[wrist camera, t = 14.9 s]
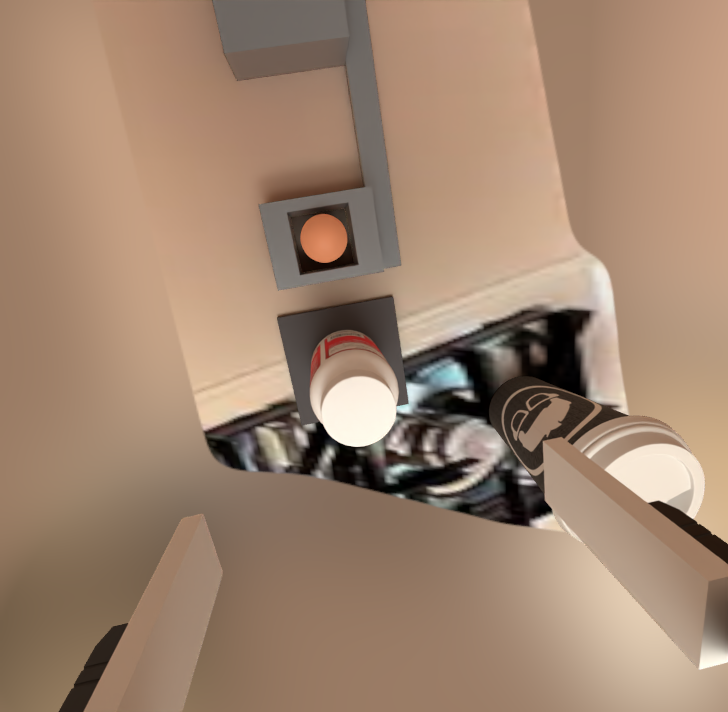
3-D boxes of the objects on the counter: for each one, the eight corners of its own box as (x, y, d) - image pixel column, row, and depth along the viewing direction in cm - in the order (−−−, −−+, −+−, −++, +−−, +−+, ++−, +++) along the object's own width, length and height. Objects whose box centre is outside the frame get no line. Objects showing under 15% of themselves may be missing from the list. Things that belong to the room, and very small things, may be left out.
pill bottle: (343, 408, 35) (354, 476, 24) (296, 361, 33) (286, 411, 23) (395, 364, 35) (428, 413, 24) (349, 313, 33) (364, 342, 22)
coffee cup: (475, 458, 39) (568, 580, 24) (471, 368, 36) (573, 444, 22) (565, 443, 39) (707, 553, 25) (568, 354, 37) (728, 418, 22)
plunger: (299, 223, 31) (296, 218, 26) (338, 216, 31) (342, 210, 26) (307, 264, 32) (305, 266, 27) (345, 257, 32) (350, 258, 27)
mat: (277, 317, 33) (277, 318, 32) (392, 296, 33) (393, 297, 33) (302, 423, 36) (301, 425, 35) (407, 401, 36) (408, 403, 36)
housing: (214, -20, 26) (197, -66, 23) (357, -38, 27) (364, -85, 23) (282, 285, 32) (277, 290, 28) (399, 265, 33) (409, 266, 29)
